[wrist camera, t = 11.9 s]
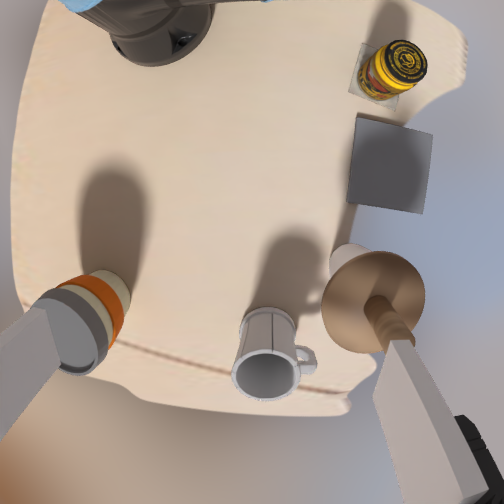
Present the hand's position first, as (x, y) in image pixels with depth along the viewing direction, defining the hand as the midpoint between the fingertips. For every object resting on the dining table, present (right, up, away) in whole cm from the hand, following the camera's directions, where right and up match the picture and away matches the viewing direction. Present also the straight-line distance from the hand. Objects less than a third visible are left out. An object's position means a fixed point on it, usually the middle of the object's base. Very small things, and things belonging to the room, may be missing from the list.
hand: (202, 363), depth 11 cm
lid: (+15, -2, +23) cm, 28 cm away
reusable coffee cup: (-23, -3, +40) cm, 46 cm away
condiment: (+20, +29, +27) cm, 44 cm away
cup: (+5, -8, +39) cm, 40 cm away
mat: (+21, +16, +31) cm, 41 cm away
